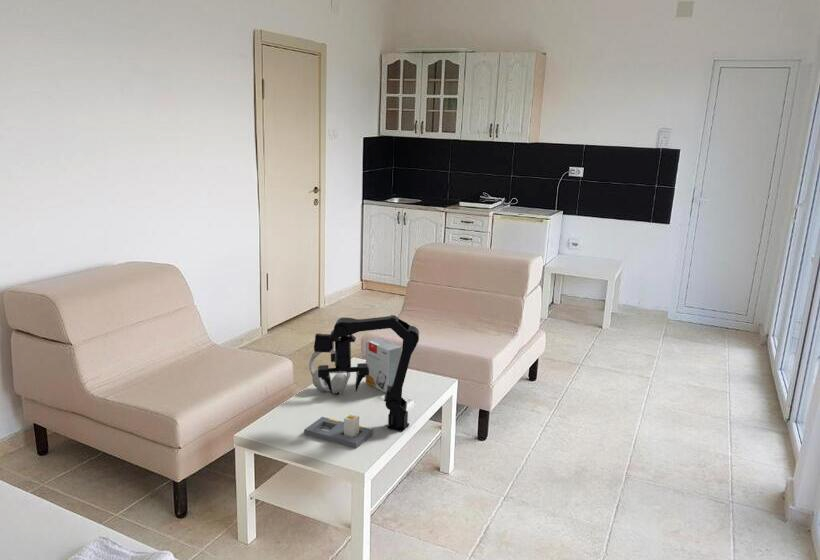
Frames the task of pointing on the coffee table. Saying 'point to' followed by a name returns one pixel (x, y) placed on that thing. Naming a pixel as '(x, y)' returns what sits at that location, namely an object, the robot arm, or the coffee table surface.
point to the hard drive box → (381, 362)
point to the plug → (351, 426)
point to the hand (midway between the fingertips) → (343, 391)
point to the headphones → (336, 383)
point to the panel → (337, 432)
